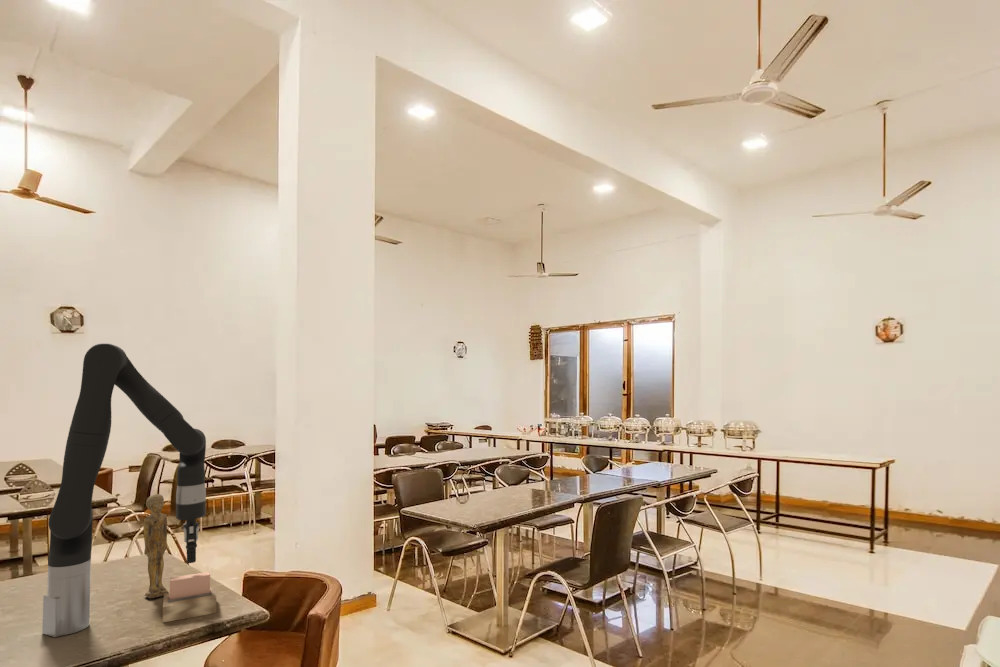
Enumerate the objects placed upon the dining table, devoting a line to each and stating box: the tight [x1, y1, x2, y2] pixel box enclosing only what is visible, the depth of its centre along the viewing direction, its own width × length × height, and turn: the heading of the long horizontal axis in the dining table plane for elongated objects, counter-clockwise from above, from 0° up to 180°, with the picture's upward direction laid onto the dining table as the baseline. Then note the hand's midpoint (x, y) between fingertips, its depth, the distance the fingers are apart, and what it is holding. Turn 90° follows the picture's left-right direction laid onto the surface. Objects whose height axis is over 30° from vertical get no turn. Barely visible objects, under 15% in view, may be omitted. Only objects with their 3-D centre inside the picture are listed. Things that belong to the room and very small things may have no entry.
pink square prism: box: [169, 571, 211, 599], centre depth 170 cm, size 10×3×10 cm, turn 117°
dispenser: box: [162, 585, 217, 623], centre depth 170 cm, size 13×11×5 cm
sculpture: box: [143, 493, 170, 599], centre depth 182 cm, size 7×6×30 cm
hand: (191, 558), depth 171 cm, fingers open, 8 cm apart
